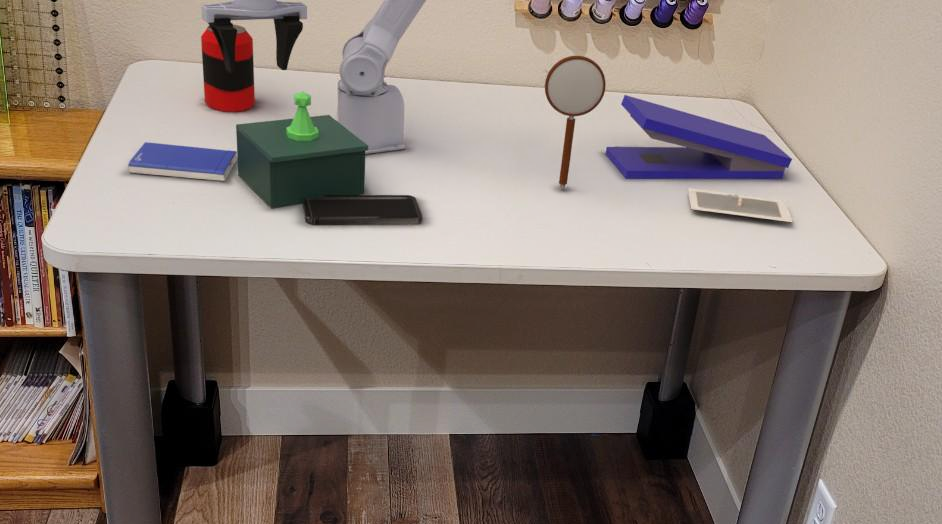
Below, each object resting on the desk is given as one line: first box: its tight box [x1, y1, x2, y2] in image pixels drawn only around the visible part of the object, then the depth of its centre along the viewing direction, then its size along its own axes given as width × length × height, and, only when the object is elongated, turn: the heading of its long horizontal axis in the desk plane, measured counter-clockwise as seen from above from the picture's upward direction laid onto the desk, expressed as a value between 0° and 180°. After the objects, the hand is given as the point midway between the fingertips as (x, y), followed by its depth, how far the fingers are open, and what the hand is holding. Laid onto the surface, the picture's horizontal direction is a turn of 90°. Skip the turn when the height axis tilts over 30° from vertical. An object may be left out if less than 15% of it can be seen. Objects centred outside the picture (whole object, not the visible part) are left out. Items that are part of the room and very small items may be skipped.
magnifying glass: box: [544, 55, 607, 191], centre depth 149 cm, size 9×2×20 cm, turn 100°
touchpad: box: [687, 187, 793, 223], centre depth 155 cm, size 8×15×2 cm, turn 88°
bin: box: [235, 129, 366, 209], centre depth 142 cm, size 11×13×7 cm
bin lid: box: [235, 114, 368, 163], centre depth 140 cm, size 12×13×1 cm
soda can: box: [200, 23, 256, 113], centre depth 164 cm, size 8×8×12 cm
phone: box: [302, 194, 423, 226], centre depth 139 cm, size 8×1×15 cm
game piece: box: [286, 91, 319, 141], centre depth 138 cm, size 4×4×6 cm
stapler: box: [605, 94, 793, 180], centre depth 167 cm, size 12×28×10 cm, turn 107°
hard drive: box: [127, 141, 238, 182], centre depth 144 cm, size 2×8×12 cm
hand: (256, 69), depth 151 cm, fingers open, 7 cm apart
